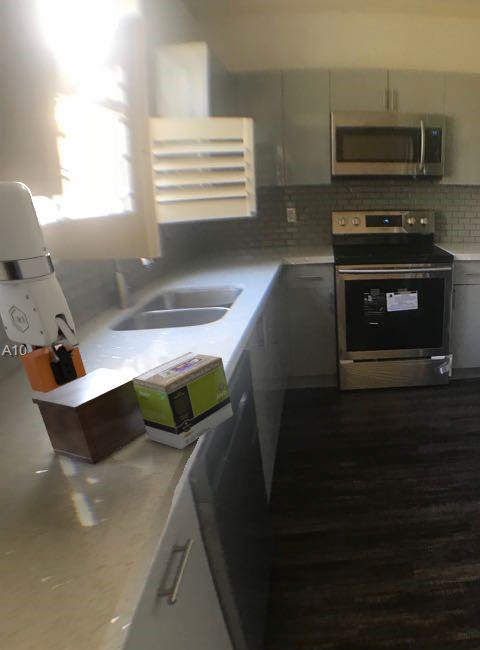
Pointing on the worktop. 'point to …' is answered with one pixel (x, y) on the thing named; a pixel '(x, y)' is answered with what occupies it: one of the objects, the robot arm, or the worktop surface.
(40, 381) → the block
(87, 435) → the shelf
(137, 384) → the tea box
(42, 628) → the worktop surface
